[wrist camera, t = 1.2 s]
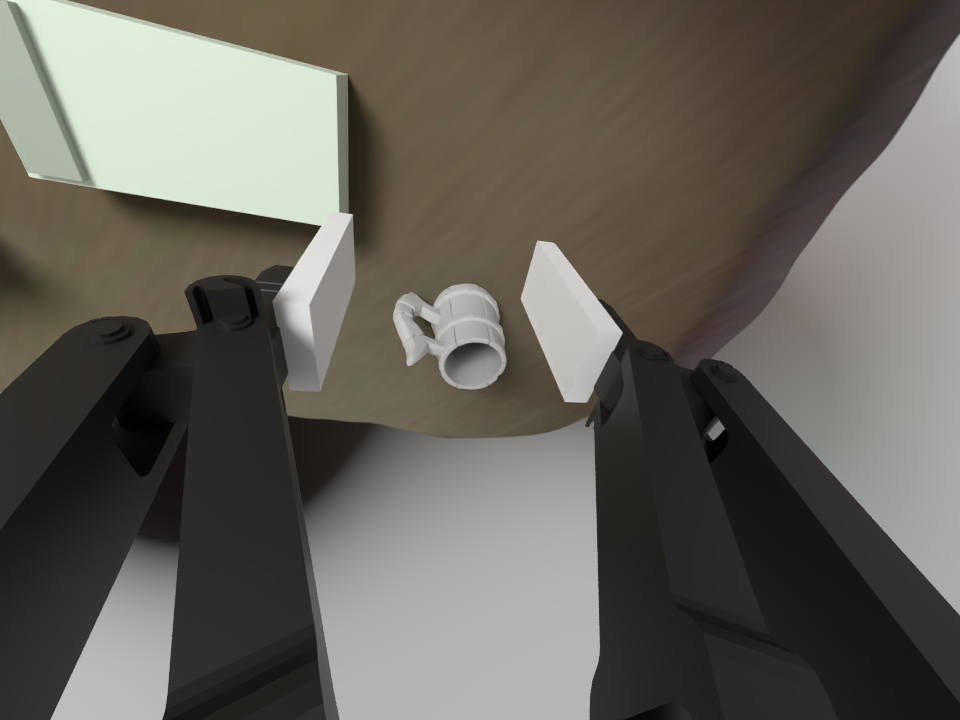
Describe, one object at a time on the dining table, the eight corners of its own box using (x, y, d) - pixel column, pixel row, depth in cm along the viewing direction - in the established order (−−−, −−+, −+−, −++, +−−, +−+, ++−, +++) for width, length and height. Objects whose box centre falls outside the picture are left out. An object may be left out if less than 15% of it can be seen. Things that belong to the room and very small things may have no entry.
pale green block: (11, -15, 22) (-89, -36, 18) (348, 74, 27) (334, 75, 22) (83, 162, 28) (22, 178, 24) (349, 210, 33) (338, 231, 28)
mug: (478, 345, 44) (492, 418, 35) (384, 313, 40) (373, 387, 30) (509, 295, 40) (535, 363, 31) (409, 253, 36) (404, 317, 26)
